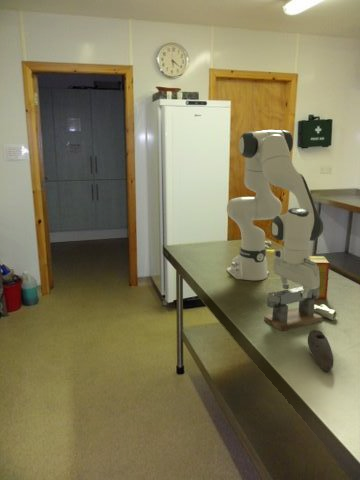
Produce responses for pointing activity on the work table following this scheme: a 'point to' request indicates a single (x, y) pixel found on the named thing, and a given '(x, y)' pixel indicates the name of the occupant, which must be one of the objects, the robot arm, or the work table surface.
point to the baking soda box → (322, 274)
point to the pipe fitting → (325, 311)
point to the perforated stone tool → (320, 349)
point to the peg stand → (293, 316)
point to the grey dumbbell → (289, 296)
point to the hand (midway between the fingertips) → (294, 292)
